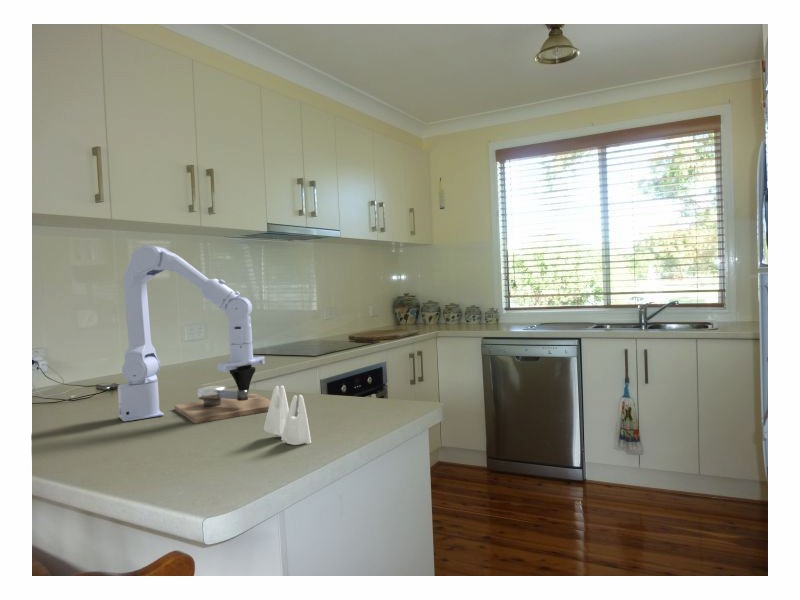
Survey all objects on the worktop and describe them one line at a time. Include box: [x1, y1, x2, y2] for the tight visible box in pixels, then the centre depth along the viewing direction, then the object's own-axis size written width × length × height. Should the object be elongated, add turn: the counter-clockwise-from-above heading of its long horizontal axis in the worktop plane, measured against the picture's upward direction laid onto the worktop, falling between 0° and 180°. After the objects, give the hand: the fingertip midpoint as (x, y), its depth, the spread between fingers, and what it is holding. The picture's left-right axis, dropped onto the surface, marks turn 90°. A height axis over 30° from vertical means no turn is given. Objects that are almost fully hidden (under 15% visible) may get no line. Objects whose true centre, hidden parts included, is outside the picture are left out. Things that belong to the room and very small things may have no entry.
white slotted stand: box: [263, 385, 312, 446], centre depth 115 cm, size 12×4×11 cm, turn 45°
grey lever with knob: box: [197, 385, 249, 401], centre depth 148 cm, size 16×7×2 cm, turn 59°
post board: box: [173, 392, 271, 425], centre depth 149 cm, size 22×22×3 cm
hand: (243, 395), depth 147 cm, fingers closed
